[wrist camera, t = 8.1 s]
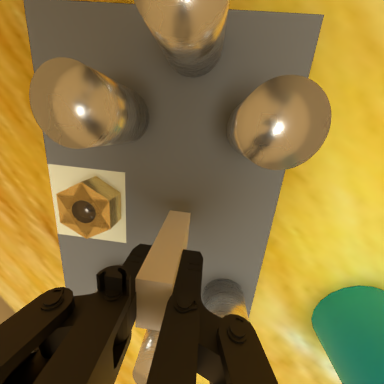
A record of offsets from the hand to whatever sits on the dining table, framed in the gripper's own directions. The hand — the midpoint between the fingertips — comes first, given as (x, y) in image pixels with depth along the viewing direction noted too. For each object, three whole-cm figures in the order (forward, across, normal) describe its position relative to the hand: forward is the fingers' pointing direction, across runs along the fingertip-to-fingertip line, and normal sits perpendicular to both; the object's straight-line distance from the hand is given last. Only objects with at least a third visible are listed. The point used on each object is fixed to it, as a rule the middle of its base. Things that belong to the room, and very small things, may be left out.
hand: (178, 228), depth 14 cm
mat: (+4, -2, 0) cm, 4 cm away
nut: (+3, -8, 0) cm, 9 cm away
